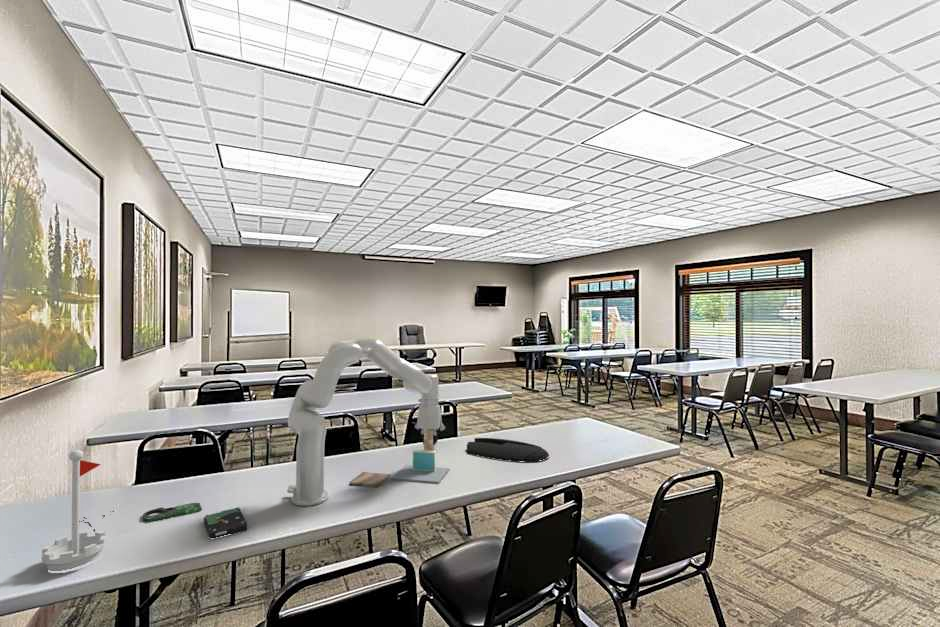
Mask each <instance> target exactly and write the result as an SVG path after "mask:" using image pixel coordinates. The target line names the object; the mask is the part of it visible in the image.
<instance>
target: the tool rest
mask: <svg viewBox="0 0 940 627" xmlns="http://www.w3.org/2000/svg"><path fill="white" fill-rule="evenodd" d="M389 476H390V477H391V475H390V473H379V472H369V471H368V472H367V471H362V472H361V473H360V474H358V475H356V477H354V478H352V480H350V481H349V482H348V484H354V485H353V486H357V485H364V486H363V487H368V486H373V487H372V488H379V487H380V486H381V485H382V484H383V483H384V482H385V480H386V479H387V478H388V477H389ZM390 477H389V478H390ZM389 478H388V479H389ZM388 479H387V480H388ZM387 480H386V481H387ZM381 483H382V484H381ZM380 484H381V485H380ZM379 485H380V486H379ZM378 486H379V487H378Z"/></svg>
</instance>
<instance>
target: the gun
mask: <svg viewBox="0 0 940 627" xmlns="http://www.w3.org/2000/svg"><path fill="white" fill-rule="evenodd" d="M202 510H203V509H202V506H201V503H200V502H191V503H186V504H182V505H176V506H172V507H166V508H165V507H157V508H154V509H150V510H147V511H146V512H144V513H143V514H142V521H145V523H154V522H158V520H160V521H164V520H163V519H165V520H168V519H172V518H171V517H173V518H176V517H181V516H186V515H191V514H195V513H199V512H201V511H202ZM153 513H154V514H153ZM150 514H151V515H150ZM148 515H149V516H148ZM153 521H154V522H153Z"/></svg>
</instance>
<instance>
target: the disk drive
mask: <svg viewBox="0 0 940 627" xmlns="http://www.w3.org/2000/svg"><path fill="white" fill-rule="evenodd" d="M203 524H204V526H205V529H206V532H207V535H208V538H209V537H210V539H211V538H216V537H220V536H224V535H228V534H233V535H235V534H234V533H236V534H239V533H238V532H240V533H243V531H244V532H247V531H248V529H249V528H248V526H249V524H248V521H247V520H246V518H245V516H244V515H243V512H242V511H241V508H239V507H235V508H231V509H227V510H221V511H220V512H215V513H212V514H211V513H210V514H205V516H204V517H203ZM210 539H209V540H210Z"/></svg>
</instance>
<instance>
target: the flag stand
mask: <svg viewBox="0 0 940 627" xmlns="http://www.w3.org/2000/svg"><path fill="white" fill-rule="evenodd" d="M83 457H84V452H83V451H82V450H80V449H75V450H72V451H71V452H70V453H69V455H68V459H69V460H70V461H71V462H72V464H71V466H72V469H71V470H72V473H71V481H72V482H71V484H72V485H71V538H68V536H66V535H65V536H62V537H59V538H57V539H54V544H53V545H52V544H45V546H43V547H42V549H41V562H42V563H44V564H46V570H47V569H48V570H50V571H62V570H67V569H72V568H75V567H78V566H81V565H84V564H86V563H88V562H91V561H93V560H95V559H97V558H98V557H100V556H101V554H102V553H103V551H102V550H103V549H104V548H105V547H106V546H107V543H108V542H107V541H108V540H107V538H108V537H107V534H106V532H105V531H103V530H97V532H95V531H94V534H90V530H89V531H85V530H84V531H80V522H79V520H80V519H79V517H80V502H81V501H80V497H81V496H80V492H81V491H80V488H81V486H80V482H81V481H80V480H81V477H82V476H83V475H85V474H87V473H88V472H91V471H92V470H94V469H96V468H97V467H99V466H101V465H102V464H101V463H96V462H92V461H86V460H81V459H83ZM101 557H102V556H101Z"/></svg>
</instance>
